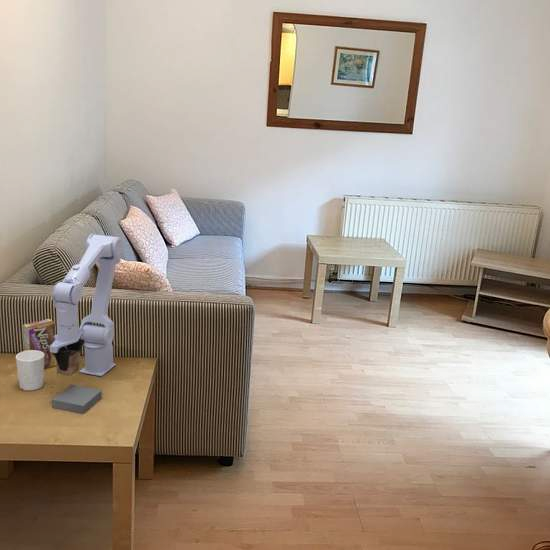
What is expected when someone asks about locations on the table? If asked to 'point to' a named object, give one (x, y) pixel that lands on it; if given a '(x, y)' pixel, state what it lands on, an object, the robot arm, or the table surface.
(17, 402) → the table surface
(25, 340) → the candy box
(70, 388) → the slate board
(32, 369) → the white cup
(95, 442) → the table surface
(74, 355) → the walnut block
